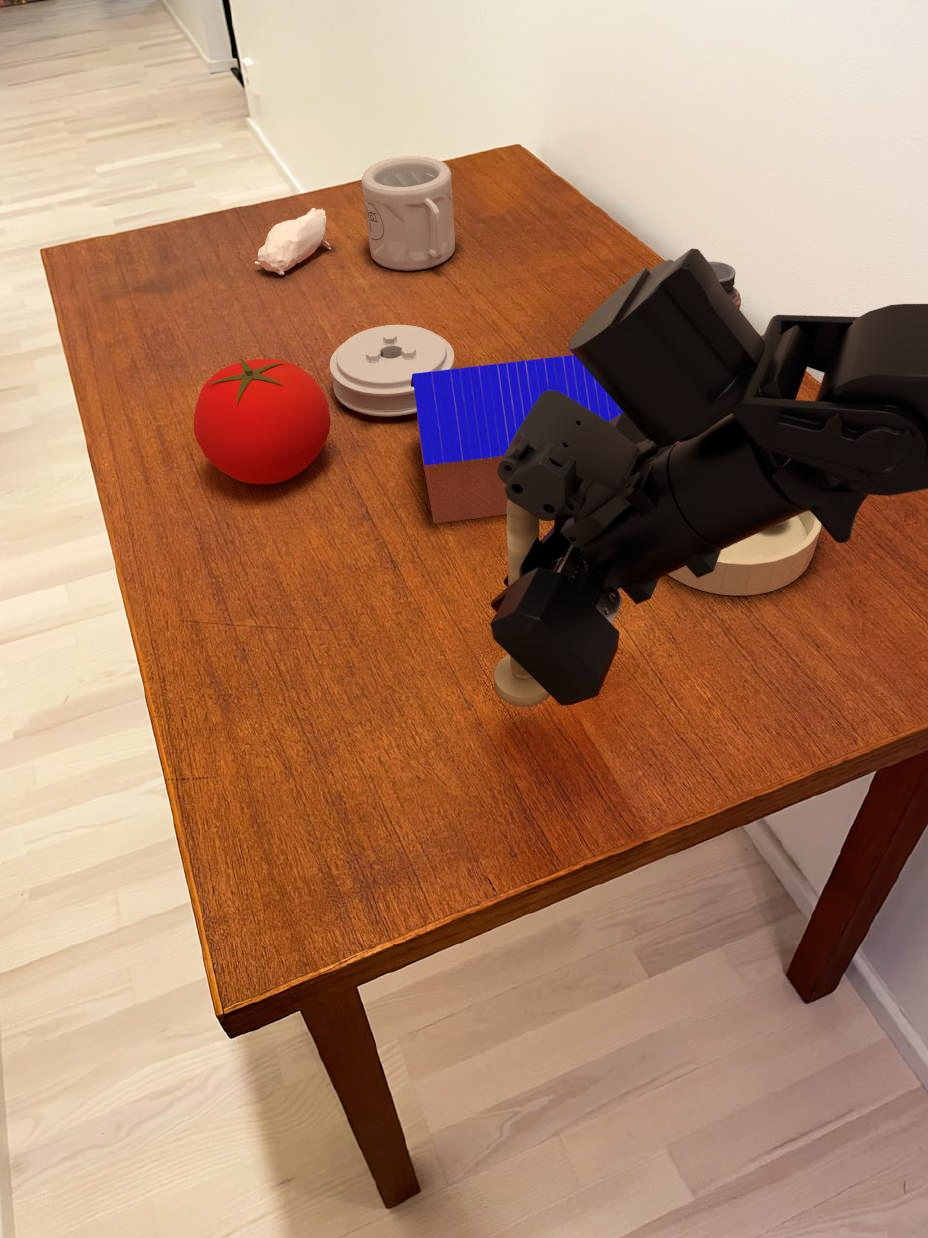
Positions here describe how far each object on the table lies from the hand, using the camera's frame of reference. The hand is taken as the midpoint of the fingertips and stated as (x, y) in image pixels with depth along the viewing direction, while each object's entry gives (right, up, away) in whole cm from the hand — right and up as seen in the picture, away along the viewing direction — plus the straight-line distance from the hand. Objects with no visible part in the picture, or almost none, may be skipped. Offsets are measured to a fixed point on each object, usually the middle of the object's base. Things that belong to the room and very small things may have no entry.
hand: (502, 597), depth 58 cm
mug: (-8, +44, +62) cm, 76 cm away
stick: (+2, -6, +5) cm, 8 cm away
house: (+4, +12, +31) cm, 33 cm away
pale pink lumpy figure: (-24, +44, +63) cm, 80 cm away
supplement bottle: (+22, +24, +40) cm, 52 cm away
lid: (-9, +22, +41) cm, 48 cm away
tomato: (-21, +13, +33) cm, 41 cm away
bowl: (+20, +6, +23) cm, 31 cm away
